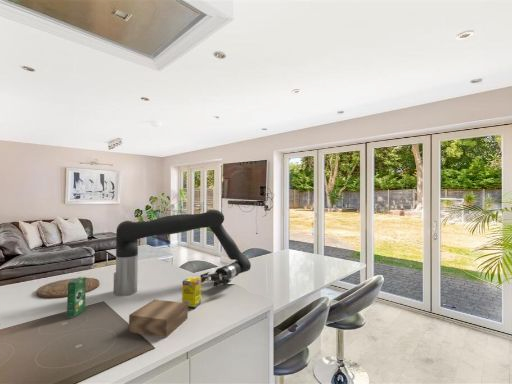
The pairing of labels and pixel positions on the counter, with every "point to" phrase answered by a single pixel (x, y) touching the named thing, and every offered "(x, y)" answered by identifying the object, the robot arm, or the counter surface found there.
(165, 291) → the counter surface
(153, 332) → the walnut riser block
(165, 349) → the counter surface
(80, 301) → the coffee box
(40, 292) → the trivet
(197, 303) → the supplement box
